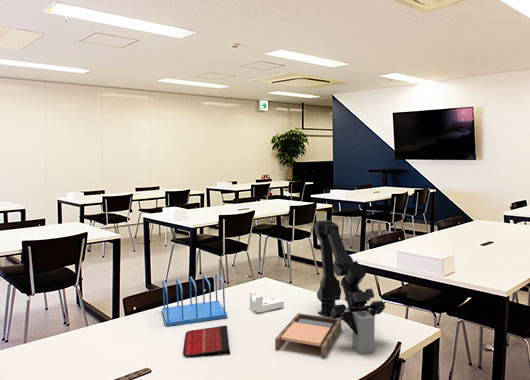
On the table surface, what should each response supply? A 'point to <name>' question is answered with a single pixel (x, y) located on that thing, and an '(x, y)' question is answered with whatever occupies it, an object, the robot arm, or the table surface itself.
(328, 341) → the flap frame
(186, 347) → the binder
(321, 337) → the flap
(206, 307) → the file sorter
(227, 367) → the table surface
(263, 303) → the bracket
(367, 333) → the stone block
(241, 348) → the table surface
